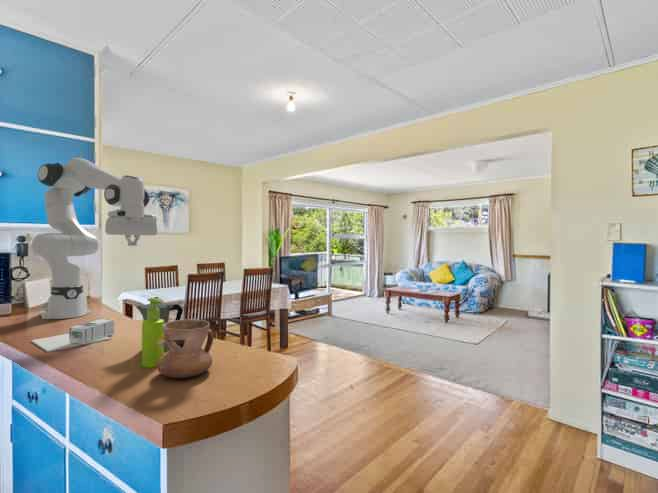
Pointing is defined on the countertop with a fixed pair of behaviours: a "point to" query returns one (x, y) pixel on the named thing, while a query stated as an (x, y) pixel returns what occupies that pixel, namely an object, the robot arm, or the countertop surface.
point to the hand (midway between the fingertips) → (132, 245)
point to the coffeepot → (162, 313)
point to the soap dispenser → (152, 336)
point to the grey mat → (60, 342)
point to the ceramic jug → (185, 348)
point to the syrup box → (91, 331)
